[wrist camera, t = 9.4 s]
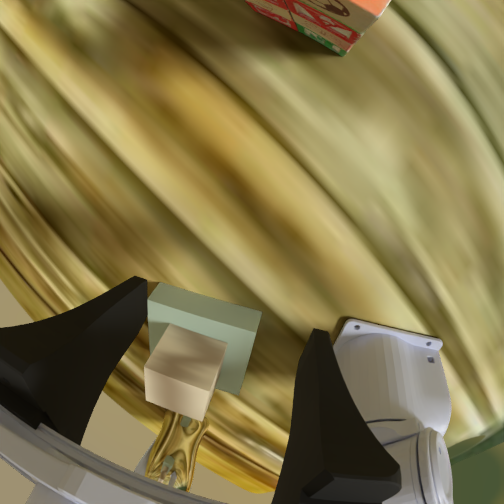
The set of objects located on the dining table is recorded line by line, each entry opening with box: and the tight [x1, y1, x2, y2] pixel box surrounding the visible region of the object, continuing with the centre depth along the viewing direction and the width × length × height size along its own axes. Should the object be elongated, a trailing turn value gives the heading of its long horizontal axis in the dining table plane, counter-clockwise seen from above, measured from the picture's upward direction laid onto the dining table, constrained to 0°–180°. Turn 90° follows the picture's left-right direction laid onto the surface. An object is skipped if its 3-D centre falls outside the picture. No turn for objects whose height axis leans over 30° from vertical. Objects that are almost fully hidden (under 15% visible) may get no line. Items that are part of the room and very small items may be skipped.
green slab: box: [147, 282, 262, 395], centre depth 28 cm, size 9×9×3 cm
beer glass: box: [134, 409, 209, 493], centre depth 31 cm, size 7×7×15 cm
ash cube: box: [144, 323, 228, 421], centre depth 24 cm, size 5×5×5 cm
